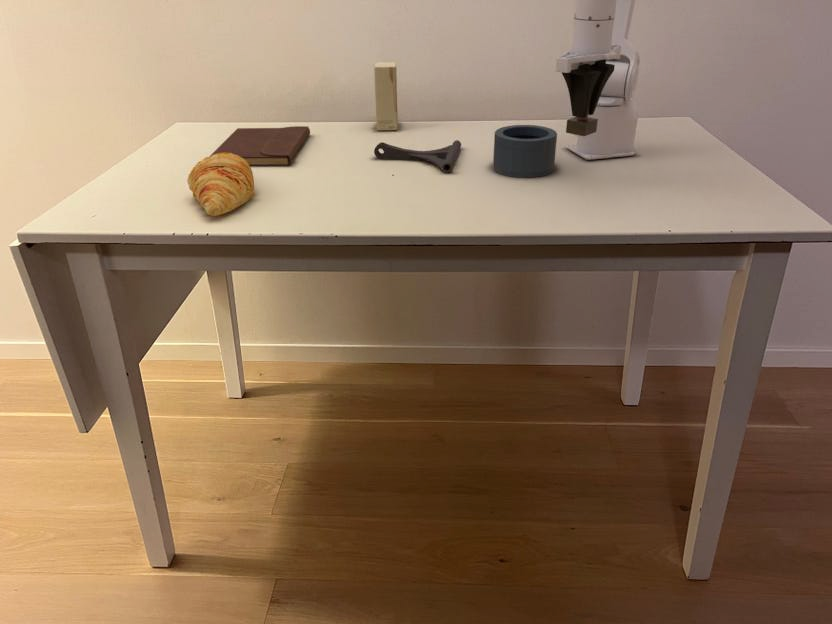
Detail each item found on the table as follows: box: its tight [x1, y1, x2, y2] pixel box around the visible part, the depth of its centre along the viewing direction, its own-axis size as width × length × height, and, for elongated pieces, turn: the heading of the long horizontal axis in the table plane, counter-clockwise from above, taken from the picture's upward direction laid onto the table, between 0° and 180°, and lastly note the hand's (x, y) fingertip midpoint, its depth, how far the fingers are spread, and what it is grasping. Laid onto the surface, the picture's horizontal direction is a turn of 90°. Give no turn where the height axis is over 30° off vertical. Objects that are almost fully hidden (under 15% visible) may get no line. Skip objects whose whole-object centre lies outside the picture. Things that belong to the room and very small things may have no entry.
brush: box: [565, 105, 598, 136], centre depth 108 cm, size 3×3×7 cm
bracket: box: [373, 139, 462, 173], centre depth 125 cm, size 14×15×3 cm
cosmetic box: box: [373, 61, 399, 131], centre depth 141 cm, size 6×4×12 cm
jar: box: [492, 124, 558, 178], centre depth 118 cm, size 10×10×6 cm
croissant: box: [186, 152, 255, 217], centre depth 109 cm, size 21×10×8 cm, turn 5°
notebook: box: [208, 125, 311, 167], centre depth 132 cm, size 15×20×2 cm
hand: (582, 115), depth 108 cm, fingers closed on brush
